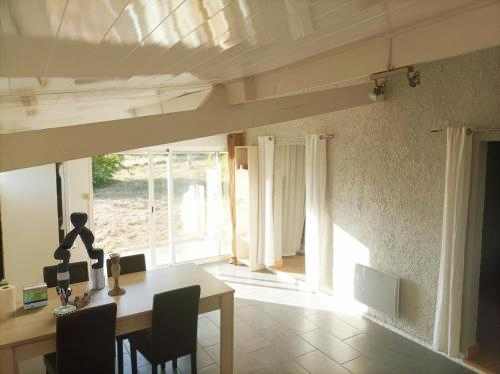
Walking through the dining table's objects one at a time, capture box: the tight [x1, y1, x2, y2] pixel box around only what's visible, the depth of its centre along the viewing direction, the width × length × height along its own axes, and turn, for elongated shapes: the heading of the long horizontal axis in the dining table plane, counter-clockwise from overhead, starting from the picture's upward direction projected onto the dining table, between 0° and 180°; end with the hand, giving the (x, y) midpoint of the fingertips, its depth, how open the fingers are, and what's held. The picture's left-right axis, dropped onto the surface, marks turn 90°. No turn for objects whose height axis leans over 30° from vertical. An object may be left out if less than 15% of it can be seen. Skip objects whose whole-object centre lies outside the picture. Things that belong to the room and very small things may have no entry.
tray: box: [53, 304, 77, 315], centre depth 255 cm, size 10×10×3 cm
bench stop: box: [74, 291, 91, 310], centre depth 266 cm, size 12×3×8 cm, turn 157°
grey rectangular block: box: [67, 295, 81, 306], centre depth 268 cm, size 10×7×4 cm
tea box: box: [22, 282, 49, 310], centre depth 266 cm, size 15×10×15 cm
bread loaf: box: [60, 292, 68, 306], centre depth 254 cm, size 4×4×9 cm
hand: (64, 301), depth 254 cm, fingers closed on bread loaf, 3 cm apart
